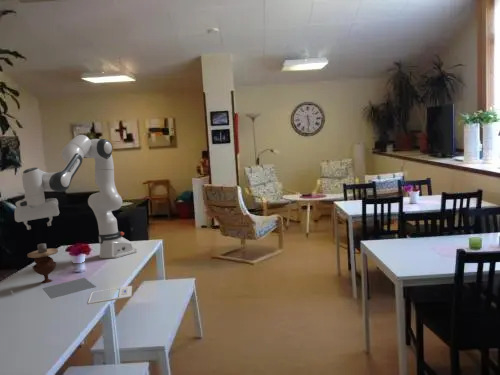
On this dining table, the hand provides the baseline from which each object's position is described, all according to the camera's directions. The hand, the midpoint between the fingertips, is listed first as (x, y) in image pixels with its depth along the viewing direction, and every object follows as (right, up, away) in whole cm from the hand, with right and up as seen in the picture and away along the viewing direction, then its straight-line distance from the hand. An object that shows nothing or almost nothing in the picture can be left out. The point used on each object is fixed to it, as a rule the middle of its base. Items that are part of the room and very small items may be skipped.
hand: (39, 227), depth 220 cm
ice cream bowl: (+2, -29, +3) cm, 29 cm away
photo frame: (+44, -29, -24) cm, 57 cm away
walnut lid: (+1, -14, +1) cm, 14 cm away
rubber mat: (+19, -29, -9) cm, 35 cm away
